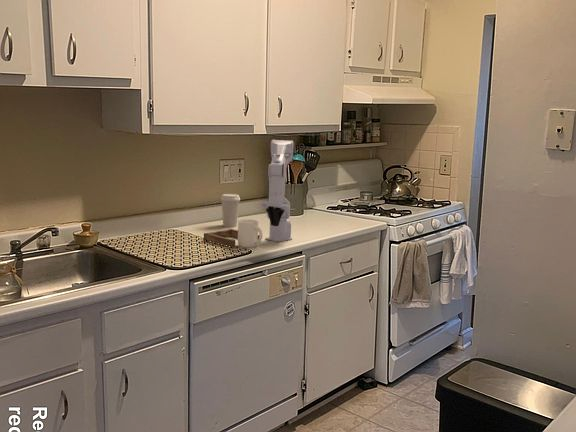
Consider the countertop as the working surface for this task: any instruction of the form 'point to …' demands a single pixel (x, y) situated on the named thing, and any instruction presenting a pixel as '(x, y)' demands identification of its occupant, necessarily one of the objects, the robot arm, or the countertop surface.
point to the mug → (249, 233)
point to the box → (222, 237)
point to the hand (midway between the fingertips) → (274, 225)
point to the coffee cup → (230, 209)
